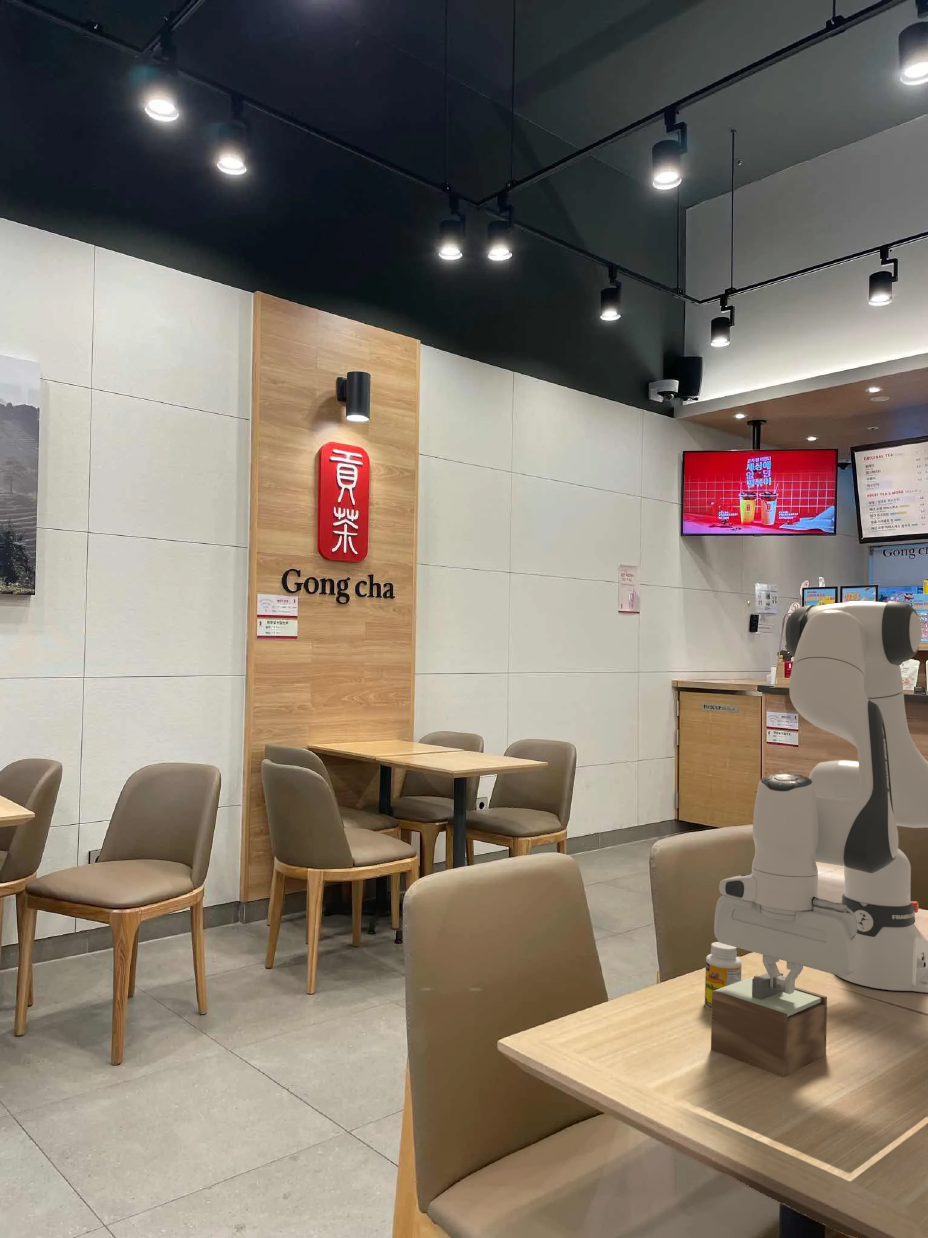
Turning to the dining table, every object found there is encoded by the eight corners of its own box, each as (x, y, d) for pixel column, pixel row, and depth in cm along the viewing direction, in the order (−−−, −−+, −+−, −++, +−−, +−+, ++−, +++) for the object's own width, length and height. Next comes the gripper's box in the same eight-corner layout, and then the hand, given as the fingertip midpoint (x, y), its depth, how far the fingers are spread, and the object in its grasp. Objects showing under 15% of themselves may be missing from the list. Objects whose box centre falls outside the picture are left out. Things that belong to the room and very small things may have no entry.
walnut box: (755, 1034, 136) (756, 975, 137) (825, 1059, 128) (827, 996, 129) (710, 1053, 128) (712, 991, 129) (783, 1081, 120) (784, 1015, 121)
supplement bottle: (697, 1005, 148) (699, 941, 148) (727, 1002, 149) (728, 939, 150) (717, 1017, 142) (718, 951, 143) (747, 1015, 144) (749, 949, 145)
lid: (751, 981, 136) (751, 960, 136) (820, 1002, 128) (821, 980, 128) (714, 994, 130) (715, 972, 130) (785, 1018, 122) (785, 994, 122)
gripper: (867, 903, 123) (866, 1008, 122) (732, 874, 138) (730, 967, 137) (846, 910, 118) (844, 1018, 118) (709, 879, 134) (707, 975, 133)
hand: (782, 991), depth 127 cm, fingers closed
